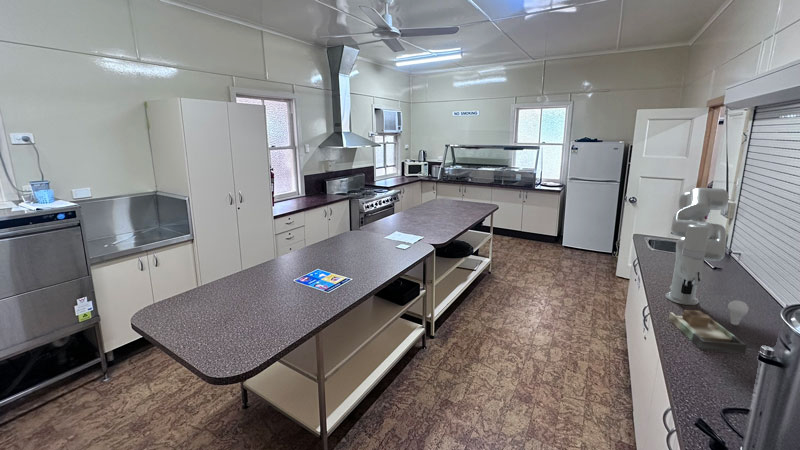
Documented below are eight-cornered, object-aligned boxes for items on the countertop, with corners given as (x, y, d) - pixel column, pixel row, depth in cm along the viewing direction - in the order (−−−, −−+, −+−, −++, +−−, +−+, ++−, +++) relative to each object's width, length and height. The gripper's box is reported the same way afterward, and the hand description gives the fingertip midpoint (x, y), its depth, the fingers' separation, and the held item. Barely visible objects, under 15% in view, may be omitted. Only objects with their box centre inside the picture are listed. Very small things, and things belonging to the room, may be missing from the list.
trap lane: (668, 319, 153) (669, 312, 152) (705, 321, 150) (706, 314, 149) (701, 349, 131) (702, 341, 130) (745, 353, 128) (747, 345, 127)
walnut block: (682, 318, 149) (683, 309, 149) (698, 319, 148) (700, 310, 147) (690, 325, 144) (692, 316, 143) (707, 326, 143) (709, 317, 142)
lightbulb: (725, 325, 146) (730, 302, 144) (723, 319, 151) (728, 296, 148) (745, 330, 143) (751, 306, 140) (743, 324, 147) (748, 300, 145)
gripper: (673, 248, 156) (667, 286, 160) (693, 258, 141) (686, 300, 145) (692, 248, 154) (685, 287, 158) (715, 259, 140) (706, 301, 144)
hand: (685, 293), depth 152 cm, fingers closed
